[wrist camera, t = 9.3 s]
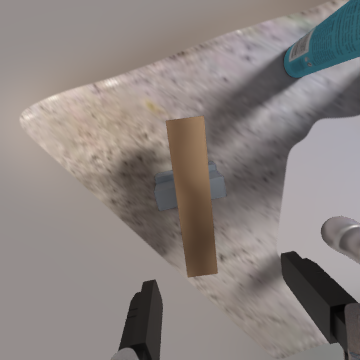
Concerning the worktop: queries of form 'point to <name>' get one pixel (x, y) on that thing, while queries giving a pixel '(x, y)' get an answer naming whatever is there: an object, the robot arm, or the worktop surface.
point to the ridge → (167, 191)
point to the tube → (327, 43)
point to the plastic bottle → (343, 236)
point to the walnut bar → (193, 193)
